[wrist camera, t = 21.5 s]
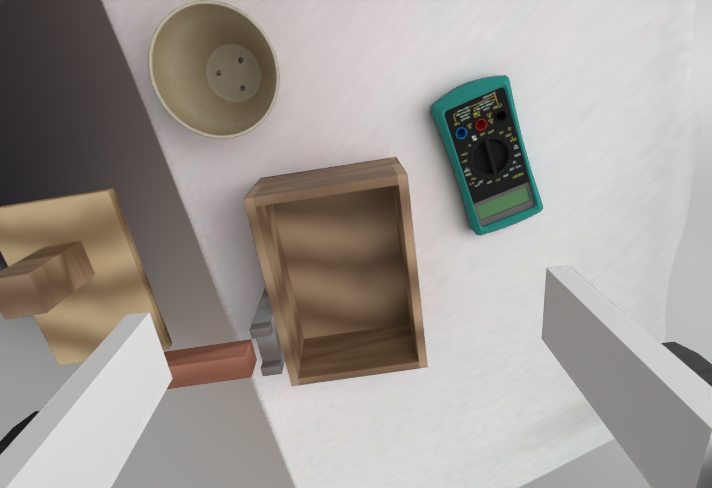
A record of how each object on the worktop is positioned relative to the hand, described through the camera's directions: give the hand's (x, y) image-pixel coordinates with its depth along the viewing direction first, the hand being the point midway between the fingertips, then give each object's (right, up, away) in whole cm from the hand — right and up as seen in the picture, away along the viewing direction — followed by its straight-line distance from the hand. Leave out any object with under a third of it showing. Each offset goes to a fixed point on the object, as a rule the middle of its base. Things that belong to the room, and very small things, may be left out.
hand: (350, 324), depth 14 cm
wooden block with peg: (-30, -1, +33) cm, 45 cm away
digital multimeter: (+13, +12, +29) cm, 34 cm away
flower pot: (-11, +19, +25) cm, 33 cm away
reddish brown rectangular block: (-14, -8, +25) cm, 30 cm away
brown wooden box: (-1, +1, +32) cm, 32 cm away
